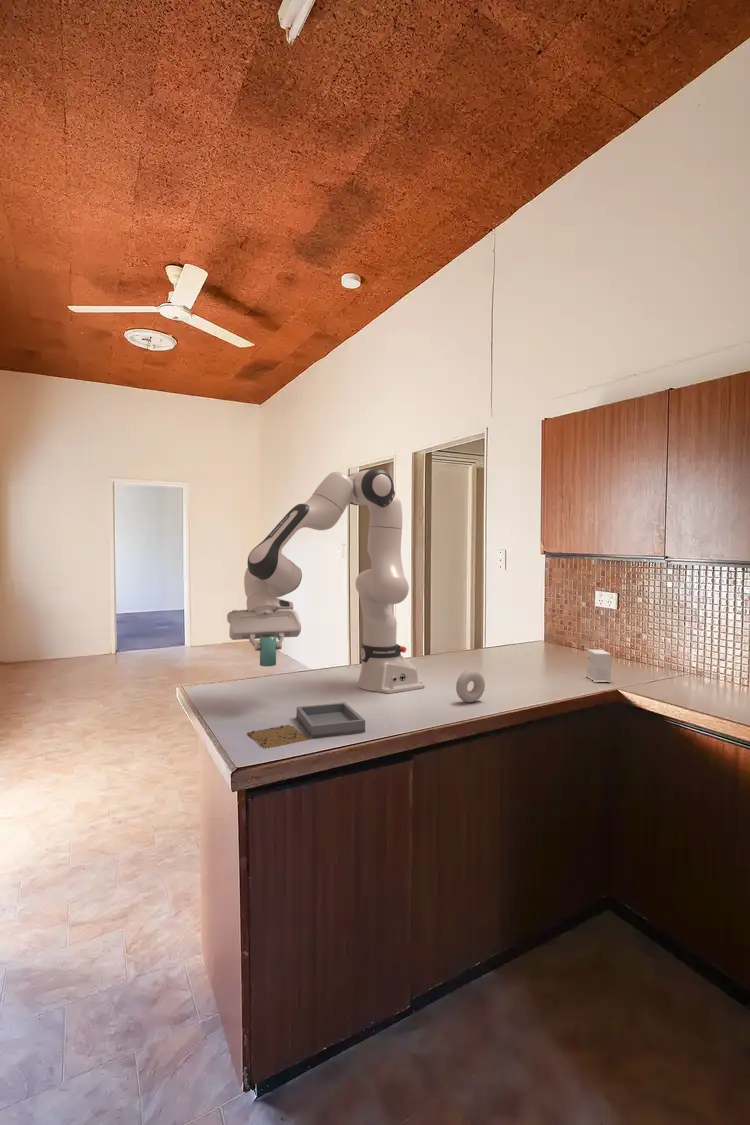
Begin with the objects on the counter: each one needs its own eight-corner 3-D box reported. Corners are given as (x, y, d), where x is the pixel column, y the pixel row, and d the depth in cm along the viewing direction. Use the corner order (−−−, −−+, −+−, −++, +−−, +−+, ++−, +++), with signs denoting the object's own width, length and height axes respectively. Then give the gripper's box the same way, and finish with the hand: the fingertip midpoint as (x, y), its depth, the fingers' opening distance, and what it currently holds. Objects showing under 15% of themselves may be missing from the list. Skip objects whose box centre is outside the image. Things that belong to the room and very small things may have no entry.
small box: (610, 683, 192) (611, 654, 191) (594, 683, 192) (595, 653, 191) (601, 677, 200) (602, 649, 199) (586, 677, 200) (587, 649, 199)
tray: (345, 712, 153) (345, 702, 153) (365, 732, 138) (365, 720, 138) (296, 717, 148) (296, 706, 148) (311, 738, 133) (311, 726, 133)
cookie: (264, 751, 125) (264, 747, 125) (245, 734, 135) (245, 731, 135) (310, 741, 132) (310, 737, 132) (289, 726, 142) (289, 723, 142)
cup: (274, 662, 155) (274, 634, 155) (277, 665, 151) (277, 637, 151) (258, 663, 153) (258, 635, 153) (261, 666, 149) (261, 637, 149)
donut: (479, 698, 169) (480, 667, 169) (486, 702, 166) (487, 669, 166) (453, 702, 165) (454, 670, 164) (459, 705, 162) (460, 672, 161)
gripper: (227, 604, 154) (231, 644, 145) (298, 602, 162) (305, 640, 153) (225, 617, 158) (229, 657, 150) (294, 614, 166) (301, 653, 157)
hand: (268, 649), depth 151 cm, fingers closed on cup, 4 cm apart
